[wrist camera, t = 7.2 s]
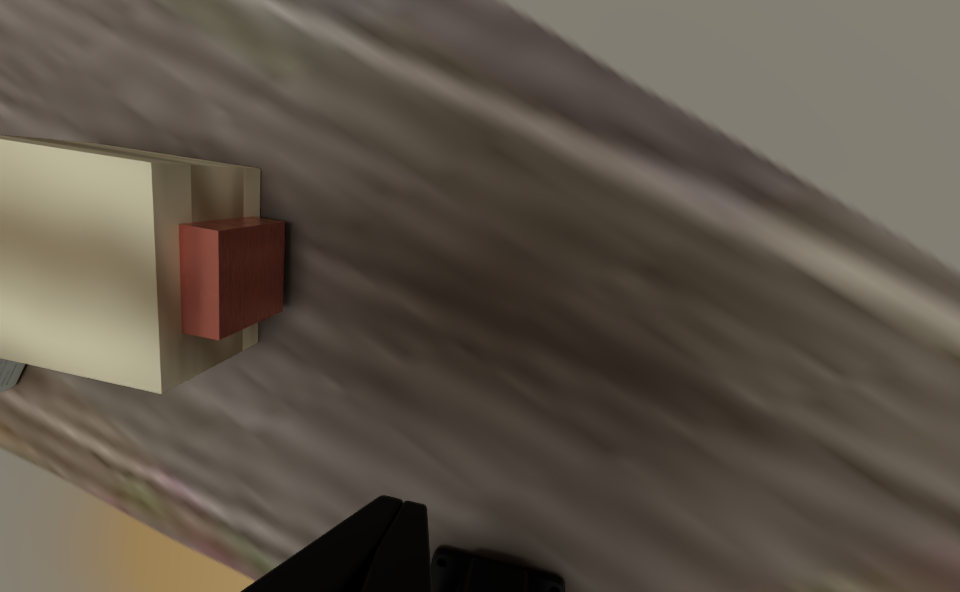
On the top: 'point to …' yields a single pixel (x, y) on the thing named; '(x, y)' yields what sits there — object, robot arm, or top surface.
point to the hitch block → (108, 258)
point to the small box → (9, 373)
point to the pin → (230, 274)
